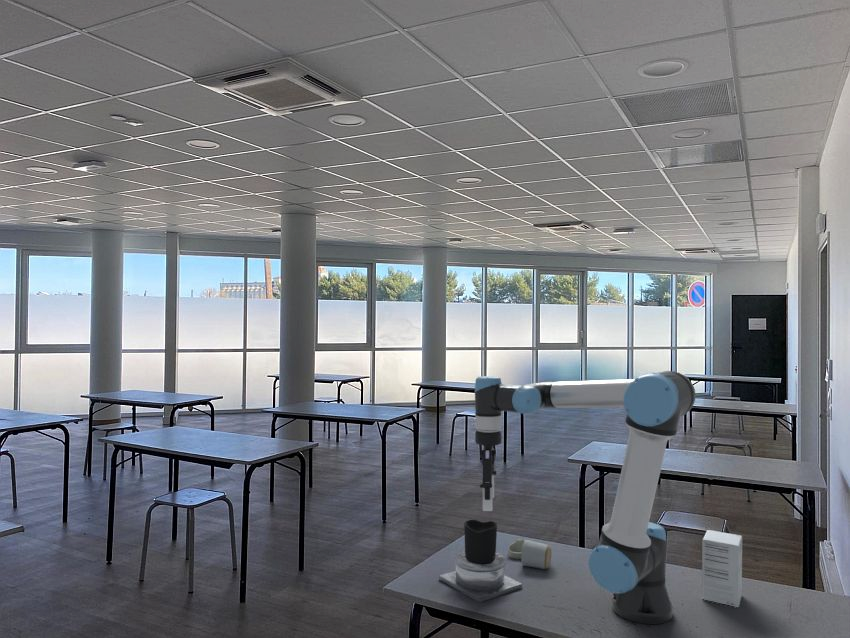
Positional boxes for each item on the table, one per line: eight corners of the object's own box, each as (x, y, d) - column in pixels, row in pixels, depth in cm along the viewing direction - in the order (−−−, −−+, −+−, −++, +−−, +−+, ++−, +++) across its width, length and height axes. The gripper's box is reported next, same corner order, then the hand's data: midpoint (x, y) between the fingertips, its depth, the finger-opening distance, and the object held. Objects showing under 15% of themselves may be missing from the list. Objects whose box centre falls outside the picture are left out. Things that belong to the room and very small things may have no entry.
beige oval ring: (531, 551, 205) (531, 536, 205) (539, 559, 199) (539, 543, 199) (505, 553, 204) (505, 538, 204) (511, 561, 197) (511, 545, 197)
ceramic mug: (547, 573, 187) (547, 547, 188) (520, 568, 191) (520, 543, 191) (554, 561, 197) (554, 537, 197) (528, 557, 200) (529, 533, 201)
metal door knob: (522, 588, 177) (522, 562, 177) (479, 602, 168) (479, 575, 168) (480, 567, 192) (480, 543, 192) (439, 579, 182) (439, 555, 182)
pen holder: (478, 567, 173) (478, 531, 173) (457, 557, 181) (457, 522, 181) (503, 560, 179) (503, 525, 179) (482, 550, 186) (482, 517, 186)
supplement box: (706, 587, 178) (706, 528, 178) (742, 595, 173) (742, 534, 173) (701, 600, 170) (701, 538, 170) (738, 608, 165) (739, 545, 165)
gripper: (477, 423, 193) (478, 491, 193) (472, 437, 168) (472, 516, 168) (502, 423, 192) (502, 492, 191) (500, 438, 167) (500, 517, 167)
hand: (488, 503), depth 180 cm, fingers open, 13 cm apart
